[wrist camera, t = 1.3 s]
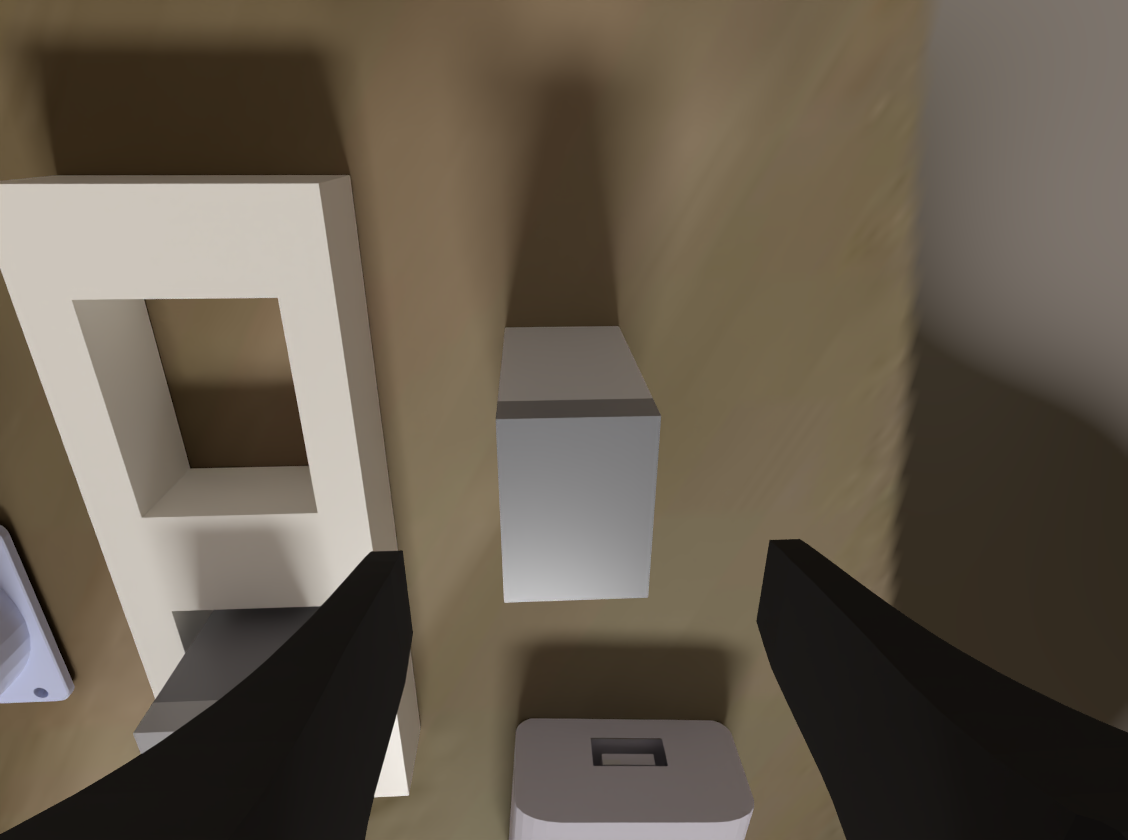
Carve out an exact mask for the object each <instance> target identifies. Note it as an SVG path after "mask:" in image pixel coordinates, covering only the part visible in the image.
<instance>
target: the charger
mask: <svg viewBox="0 0 1128 840" xmlns="http://www.w3.org/2000/svg"><path fill="white" fill-rule="evenodd" d="M608 738H661V739H608ZM753 809H754V799H753V796H752V793H751V790H750V787H749V784H748V781H747V778H746V775H745V772H744V769H743V766H742V764H741V761H740V758H739V755H738V752H737V749H736V746H735V743H734V740H733V737H732V734H731V732H730V731H729V729H728V728H727V727H725V726H724V725H722V724H721V723H719V722H716V721H710V720H637V719H542V718H530V719H528V720H525V721H523V722H522V723H521V724H520V725H518V727H517V730H516V737H515V753H514V768H513V783H512V798H511V813H510V829H509V840H744V839H745V835H746V832H747V829H748V825H749V822H750V819H751V815H752V812H753Z"/></svg>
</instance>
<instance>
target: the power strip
mask: <svg viewBox="0 0 1128 840" xmlns="http://www.w3.org/2000/svg"><path fill="white" fill-rule="evenodd" d="M0 269H1V272H2V274H3V277H4V280H5V283H6V285H7V288H8V291H9V294H10V297H11V299H12V302H13V305H14V308H15V310H16V313H17V316H18V319H19V322H20V324H21V327H22V330H23V333H24V335H25V338H26V341H27V344H28V347H29V349H30V352H31V355H32V358H33V360H34V363H35V366H36V369H37V372H38V374H39V377H40V380H41V383H42V385H43V388H44V391H45V394H46V397H47V399H48V402H49V405H50V408H51V410H52V413H53V416H54V419H55V421H56V424H57V427H58V430H59V433H60V435H61V438H62V441H63V444H64V446H65V449H66V452H67V455H68V458H69V460H70V463H71V466H72V469H73V471H74V474H75V477H76V480H77V483H78V485H79V488H80V491H81V494H82V496H83V499H84V502H85V505H86V508H87V510H88V513H89V516H90V519H91V521H92V524H93V527H94V530H95V533H96V535H97V538H98V541H99V544H100V546H101V549H102V552H103V555H104V558H105V560H106V563H107V566H108V569H109V571H110V574H111V577H112V580H113V583H114V585H115V588H116V591H117V594H118V596H119V599H120V602H121V605H122V607H123V610H124V613H125V616H126V619H127V621H128V624H129V627H130V630H131V632H132V635H133V638H134V641H135V644H136V646H137V649H138V652H139V655H140V657H141V660H142V663H143V666H144V669H145V671H146V674H147V677H148V680H149V682H150V685H151V688H152V691H153V694H154V696H155V699H156V697H157V696H158V694H159V693H160V691H161V690H162V688H163V687H164V685H165V684H166V682H167V680H168V679H169V677H170V676H171V674H172V673H173V671H174V670H175V668H176V667H177V665H178V664H179V662H180V661H181V659H182V657H183V656H184V654H185V653H186V651H187V650H188V648H189V647H190V645H191V644H192V642H193V641H194V639H195V637H196V636H197V634H198V633H199V631H200V630H201V628H202V627H203V625H204V624H205V622H206V621H207V619H208V618H209V616H210V614H211V613H212V611H213V610H222V609H252V608H282V607H312V606H321V605H322V604H323V603H324V602H325V601H326V600H327V599H328V598H329V597H330V596H331V595H332V593H333V592H334V591H335V590H336V589H337V588H338V587H339V586H340V585H341V583H342V582H343V581H344V580H345V579H346V578H347V577H348V576H349V574H350V573H351V572H352V571H353V570H354V569H355V568H356V567H357V565H358V564H359V563H360V562H361V561H362V560H363V559H364V558H365V557H366V556H367V555H368V554H369V553H370V552H371V551H398V547H397V539H396V531H395V523H394V515H393V508H392V500H391V492H390V484H389V476H388V468H387V461H386V453H385V445H384V437H383V429H382V421H381V413H380V406H379V398H378V390H377V382H376V374H375V366H374V359H373V351H372V343H371V335H370V327H369V319H368V312H367V304H366V296H365V288H364V280H363V272H362V265H361V257H360V249H359V241H358V233H357V225H356V218H355V210H354V202H353V194H352V186H351V178H350V175H55V176H45V177H35V178H25V179H15V180H5V181H0ZM197 298H278V301H279V306H280V312H281V317H282V323H283V328H284V333H285V339H286V344H287V350H288V355H289V360H290V366H291V371H292V377H293V382H294V387H295V393H296V398H297V404H298V409H299V414H300V420H301V425H302V431H303V436H304V441H305V447H306V452H307V458H308V463H309V466H280V467H236V468H192V469H190V466H189V462H188V458H187V455H186V451H185V447H184V444H183V440H182V436H181V433H180V429H179V425H178V422H177V418H176V414H175V411H174V407H173V403H172V400H171V396H170V392H169V389H168V385H167V381H166V378H165V374H164V370H163V367H162V363H161V360H160V356H159V352H158V349H157V345H156V341H155V338H154V334H153V330H152V327H151V323H150V319H149V316H148V312H147V308H146V305H145V301H144V299H197ZM420 730H421V727H420V719H419V711H418V703H417V696H416V688H415V680H414V672H413V664H412V656H411V649H410V656H409V663H408V669H407V675H406V682H405V686H404V690H403V693H402V697H401V701H400V704H399V708H398V712H397V715H396V719H395V723H394V726H393V730H392V734H391V737H390V741H389V744H388V748H387V752H386V755H385V759H384V762H383V766H382V770H381V773H380V777H379V780H378V784H377V788H376V791H375V795H374V797H388V796H409V792H410V786H411V781H412V775H413V769H414V764H415V758H416V752H417V747H418V741H419V735H420Z"/></svg>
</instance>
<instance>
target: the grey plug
mask: <svg viewBox="0 0 1128 840" xmlns="http://www.w3.org/2000/svg"><path fill="white" fill-rule="evenodd" d="M660 422H661V415H660V413H659V411H658V409H657V406H656V404H655V402H654V400H653V398H652V396H651V394H650V391H649V389H648V387H647V385H646V383H645V381H644V379H643V377H642V374H641V372H640V370H639V368H638V366H637V364H636V362H635V360H634V357H633V355H632V353H631V351H630V349H629V347H628V345H627V342H626V340H625V338H624V336H623V334H622V332H621V330H620V328H619V326H579V327H505V334H504V344H503V354H502V363H501V373H500V383H499V393H498V403H497V412H496V435H497V456H498V478H499V500H500V522H501V543H502V565H503V587H504V602H532V601H561V600H589V599H618V598H647V597H648V590H649V576H650V562H651V548H652V534H653V520H654V506H655V492H656V478H657V464H658V450H659V436H660Z"/></svg>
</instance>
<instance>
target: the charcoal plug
mask: <svg viewBox="0 0 1128 840" xmlns="http://www.w3.org/2000/svg"><path fill="white" fill-rule="evenodd" d="M319 607H320V606H312V607H282V608H252V609H222V610H213V611H212V613H211V614H210V616H209V618H208V619H207V621H206V622H205V624H204V625H203V627H202V628H201V630H200V631H199V633H198V634H197V636H196V637H195V639H194V641H193V642H192V644H191V645H190V647H189V648H188V650H187V651H186V653H185V654H184V656H183V657H182V659H181V661H180V662H179V664H178V665H177V667H176V668H175V670H174V671H173V673H172V674H171V676H170V677H169V679H168V680H167V682H166V684H165V685H164V687H163V688H162V690H161V691H160V693H159V694H158V696H157V697H156V699H155V700H154V702H153V703H152V705H151V707H150V708H149V710H148V711H147V713H146V714H145V716H144V717H143V719H142V720H141V722H140V723H139V725H138V727H137V728H136V730H135V731H134V733H133V734H134V737H135V739H136V742H137V745H138V747H139V750H140V752H141V754H142V753H144V752H145V751H147V750H148V749H150V748H151V747H153V746H155V745H156V744H158V743H159V742H161V741H162V740H163V739H165V738H166V737H168V736H169V735H170V734H172V733H173V732H175V731H176V730H178V729H179V728H180V727H182V726H183V725H185V724H186V723H187V722H189V721H190V720H192V719H193V718H194V717H196V716H197V715H199V714H200V713H201V712H203V711H204V710H206V709H207V708H208V707H210V706H211V705H213V704H214V703H215V702H216V701H218V700H219V699H220V698H222V697H223V696H224V695H225V694H227V693H228V692H229V691H230V690H232V689H233V688H234V687H235V686H237V685H238V684H239V683H240V682H242V681H243V680H244V679H245V678H246V677H248V676H249V675H250V674H251V673H252V672H254V671H255V670H256V669H257V668H258V667H259V666H260V665H261V664H263V663H264V662H265V661H266V660H267V659H268V658H269V657H270V656H271V655H272V654H273V653H274V652H275V651H276V650H277V649H279V648H280V647H281V646H282V645H283V644H284V643H285V642H286V641H287V640H288V639H289V638H290V637H291V636H292V635H293V634H294V633H295V632H296V631H297V630H298V629H299V628H300V627H301V626H302V625H303V624H304V623H305V622H306V621H307V620H308V619H309V618H310V617H311V616H312V615H313V614H314V613H315V612H316V611H317V610H318V608H319Z"/></svg>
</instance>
